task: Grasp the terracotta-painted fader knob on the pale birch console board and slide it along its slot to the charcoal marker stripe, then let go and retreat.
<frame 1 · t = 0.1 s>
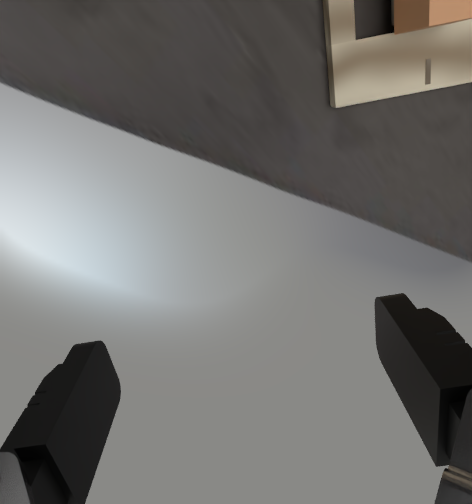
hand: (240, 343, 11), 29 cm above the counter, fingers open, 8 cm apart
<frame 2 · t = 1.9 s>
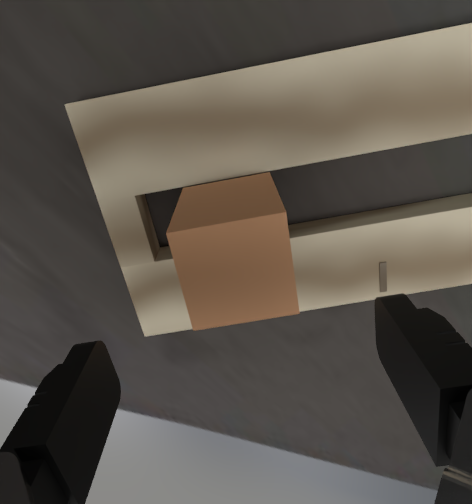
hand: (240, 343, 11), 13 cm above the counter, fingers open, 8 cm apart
fader knob: (234, 232, 19), point 5 cm above the counter, slide at -8.0 cm
console board: (368, 178, 23), on the counter
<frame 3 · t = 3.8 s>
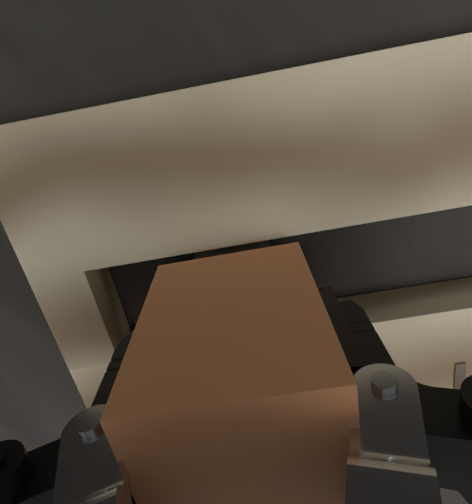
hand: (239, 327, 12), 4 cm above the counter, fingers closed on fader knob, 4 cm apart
fader knob: (241, 344, 11), point 5 cm above the counter, slide at -8.0 cm, touching gripper
console board: (439, 238, 15), on the counter
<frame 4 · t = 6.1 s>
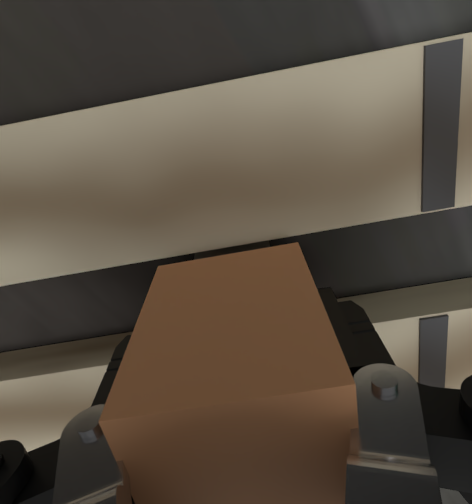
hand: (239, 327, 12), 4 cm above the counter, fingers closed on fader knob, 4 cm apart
fader knob: (240, 344, 11), point 5 cm above the counter, slide at 0.2 cm, touching gripper
console board: (234, 272, 16), on the counter
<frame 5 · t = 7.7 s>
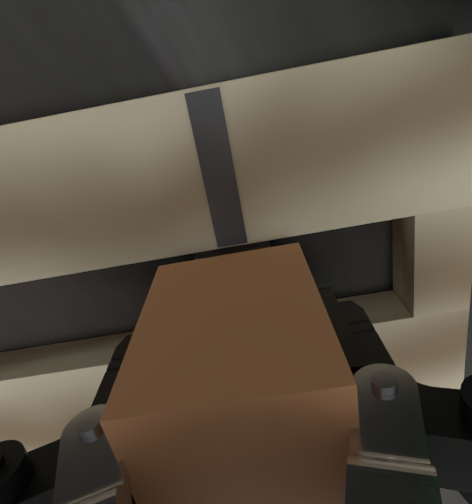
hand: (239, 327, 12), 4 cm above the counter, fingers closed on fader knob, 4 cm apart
fader knob: (241, 344, 11), point 5 cm above the counter, slide at 6.9 cm, touching gripper
console board: (74, 299, 16), on the counter
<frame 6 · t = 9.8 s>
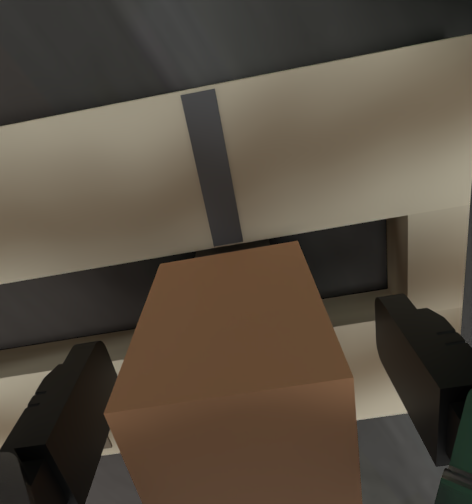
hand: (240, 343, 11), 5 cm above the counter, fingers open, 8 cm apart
fader knob: (241, 341, 12), point 5 cm above the counter, slide at 7.0 cm
console board: (73, 297, 16), on the counter
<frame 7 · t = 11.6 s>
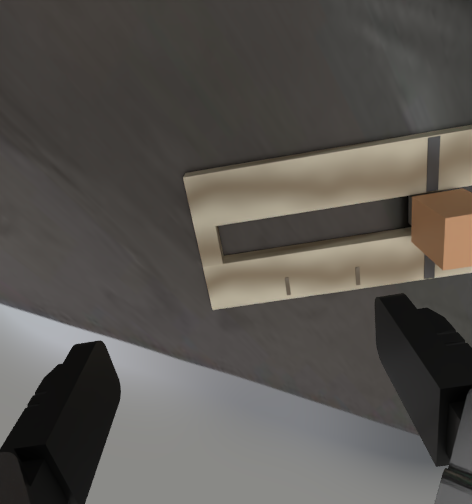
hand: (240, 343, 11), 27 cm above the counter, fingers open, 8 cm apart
fader knob: (445, 222, 34), point 5 cm above the counter, slide at 7.0 cm
console board: (349, 217, 38), on the counter
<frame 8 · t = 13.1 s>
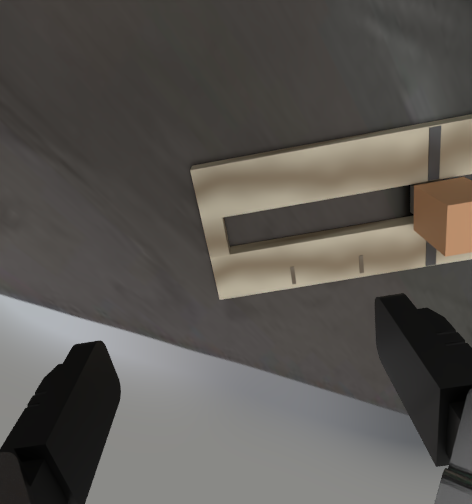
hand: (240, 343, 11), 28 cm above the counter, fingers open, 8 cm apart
fader knob: (446, 209, 35), point 5 cm above the counter, slide at 7.0 cm
console board: (352, 207, 39), on the counter
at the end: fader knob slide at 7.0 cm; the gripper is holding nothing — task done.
